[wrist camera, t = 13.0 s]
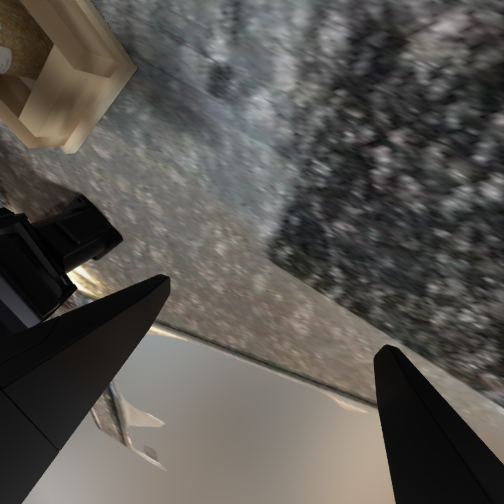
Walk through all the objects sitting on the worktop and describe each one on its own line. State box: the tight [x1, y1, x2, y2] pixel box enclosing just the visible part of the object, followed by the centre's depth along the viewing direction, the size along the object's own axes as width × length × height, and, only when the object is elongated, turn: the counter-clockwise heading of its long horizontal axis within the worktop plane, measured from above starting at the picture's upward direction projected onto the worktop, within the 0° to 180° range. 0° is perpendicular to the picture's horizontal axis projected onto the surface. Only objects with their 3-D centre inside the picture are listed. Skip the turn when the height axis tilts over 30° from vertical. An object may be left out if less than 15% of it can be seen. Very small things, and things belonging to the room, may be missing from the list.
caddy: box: [0, 0, 137, 154], centre depth 15 cm, size 11×11×4 cm
